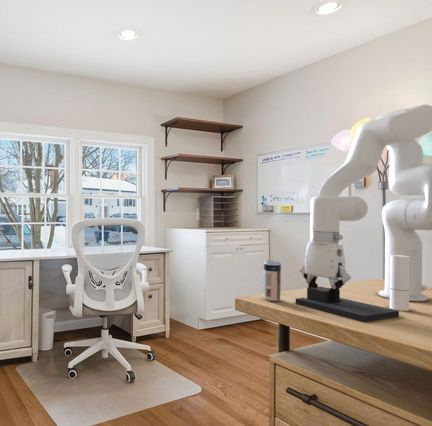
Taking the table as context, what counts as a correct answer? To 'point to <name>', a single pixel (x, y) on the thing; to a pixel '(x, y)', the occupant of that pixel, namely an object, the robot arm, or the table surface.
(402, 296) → the tube
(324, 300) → the black block
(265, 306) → the table surface
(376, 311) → the dark blue flat slab
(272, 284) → the beer can
